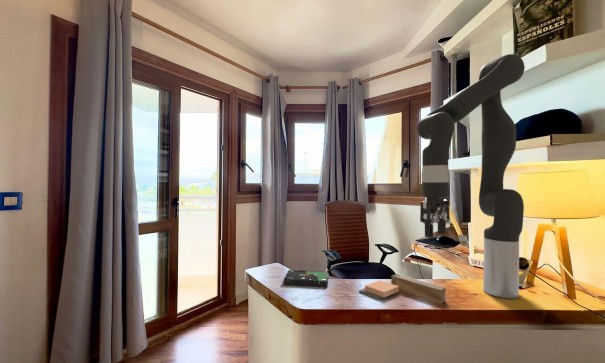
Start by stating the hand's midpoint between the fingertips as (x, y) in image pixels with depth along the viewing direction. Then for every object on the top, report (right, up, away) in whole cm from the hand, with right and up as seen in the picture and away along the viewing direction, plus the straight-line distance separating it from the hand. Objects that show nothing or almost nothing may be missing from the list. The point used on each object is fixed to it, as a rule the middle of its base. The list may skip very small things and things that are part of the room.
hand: (435, 235), depth 84 cm
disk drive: (-38, -19, +14) cm, 45 cm away
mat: (-16, -19, +5) cm, 25 cm away
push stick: (-4, -19, +4) cm, 20 cm away
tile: (-13, -17, +2) cm, 21 cm away
